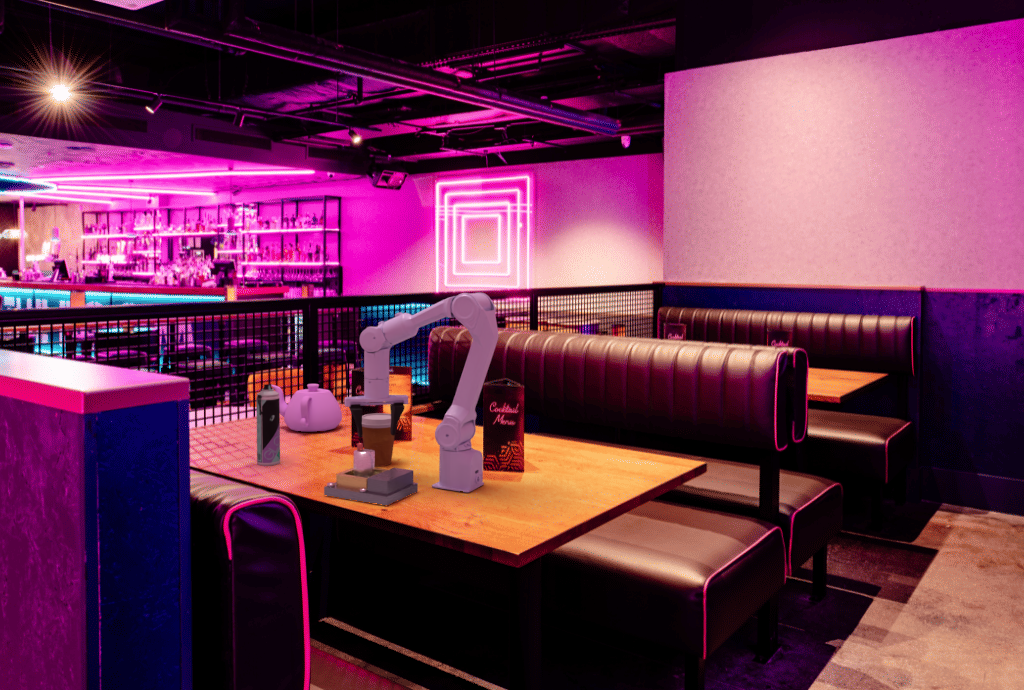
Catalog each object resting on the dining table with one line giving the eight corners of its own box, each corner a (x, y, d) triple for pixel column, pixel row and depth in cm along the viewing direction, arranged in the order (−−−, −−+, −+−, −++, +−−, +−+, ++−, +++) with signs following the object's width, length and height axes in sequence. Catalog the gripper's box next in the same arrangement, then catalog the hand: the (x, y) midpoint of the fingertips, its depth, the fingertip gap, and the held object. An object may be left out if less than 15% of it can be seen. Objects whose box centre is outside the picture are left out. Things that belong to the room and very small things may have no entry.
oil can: (378, 482, 167) (379, 443, 167) (365, 486, 163) (366, 446, 163) (361, 479, 169) (362, 441, 169) (348, 483, 165) (349, 444, 165)
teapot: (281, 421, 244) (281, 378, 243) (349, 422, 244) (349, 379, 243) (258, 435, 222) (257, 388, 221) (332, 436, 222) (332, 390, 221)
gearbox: (417, 491, 168) (417, 469, 167) (386, 506, 157) (386, 482, 156) (357, 482, 174) (357, 461, 174) (324, 495, 163) (324, 473, 163)
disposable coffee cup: (361, 469, 186) (360, 420, 185) (358, 459, 195) (358, 413, 194) (399, 467, 189) (400, 419, 188) (395, 457, 198) (395, 412, 197)
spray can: (273, 466, 187) (272, 386, 185) (252, 465, 188) (251, 384, 186) (284, 461, 192) (283, 383, 191) (264, 459, 193) (263, 382, 192)
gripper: (403, 374, 183) (403, 430, 185) (342, 376, 178) (342, 433, 180) (410, 378, 177) (409, 436, 178) (347, 380, 172) (347, 440, 173)
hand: (376, 435), depth 178 cm, fingers open, 7 cm apart
